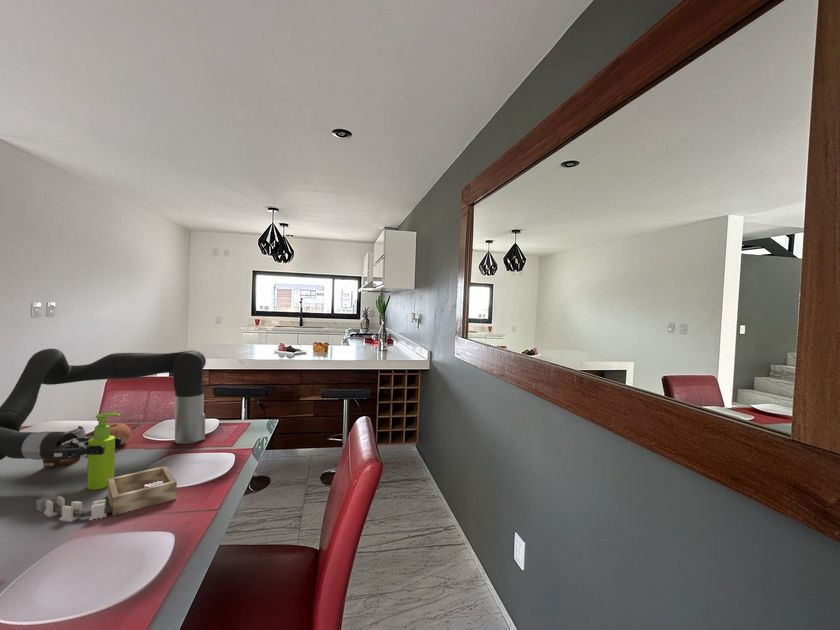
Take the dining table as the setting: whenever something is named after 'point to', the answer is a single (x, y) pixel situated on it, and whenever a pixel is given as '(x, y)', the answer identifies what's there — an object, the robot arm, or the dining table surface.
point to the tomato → (120, 431)
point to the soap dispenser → (101, 464)
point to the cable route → (71, 508)
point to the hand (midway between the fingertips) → (111, 446)
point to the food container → (61, 463)
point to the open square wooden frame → (141, 490)
